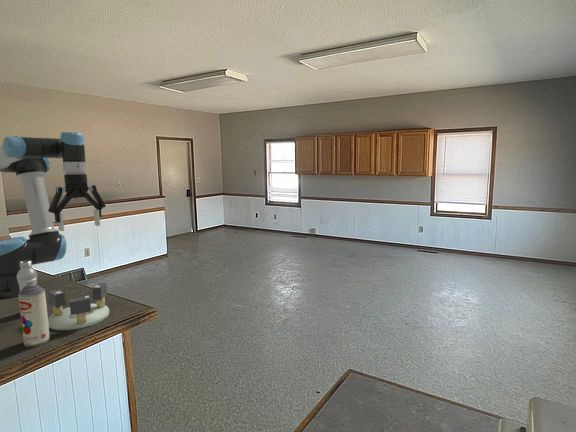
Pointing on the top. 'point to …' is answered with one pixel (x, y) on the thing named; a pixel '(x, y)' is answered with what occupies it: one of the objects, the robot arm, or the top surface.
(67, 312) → the base
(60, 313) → the dark grey rectangular block
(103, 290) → the grey block on peg
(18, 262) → the robot arm
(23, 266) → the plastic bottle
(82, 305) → the knob front
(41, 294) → the aerosol can
